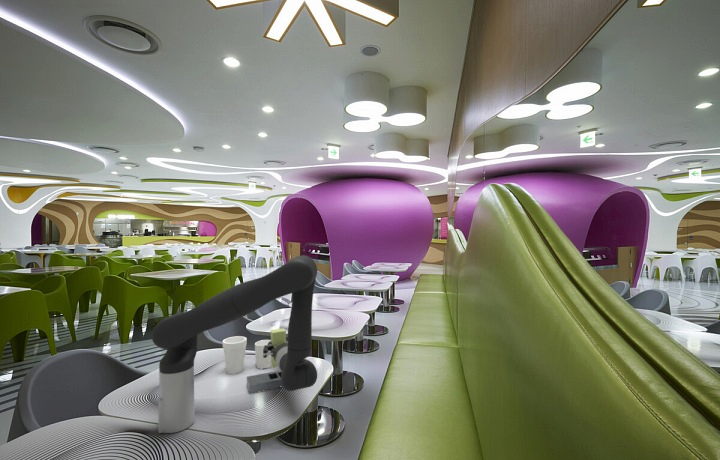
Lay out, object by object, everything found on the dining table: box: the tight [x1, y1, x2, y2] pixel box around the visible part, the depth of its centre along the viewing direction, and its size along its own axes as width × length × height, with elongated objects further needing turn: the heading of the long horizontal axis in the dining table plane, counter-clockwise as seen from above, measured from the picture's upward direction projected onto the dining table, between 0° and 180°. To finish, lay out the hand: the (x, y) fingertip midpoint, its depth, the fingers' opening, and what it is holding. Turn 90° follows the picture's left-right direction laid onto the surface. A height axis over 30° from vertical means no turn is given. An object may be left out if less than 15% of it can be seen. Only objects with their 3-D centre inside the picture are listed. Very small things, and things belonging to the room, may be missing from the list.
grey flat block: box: [246, 369, 282, 395], centre depth 127 cm, size 22×8×3 cm, turn 115°
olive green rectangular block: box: [270, 327, 287, 368], centre depth 127 cm, size 5×4×13 cm
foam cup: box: [222, 335, 248, 375], centre depth 138 cm, size 10×9×13 cm
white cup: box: [254, 339, 273, 369], centre depth 144 cm, size 8×8×10 cm
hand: (277, 342), depth 130 cm, fingers closed on olive green rectangular block, 5 cm apart
